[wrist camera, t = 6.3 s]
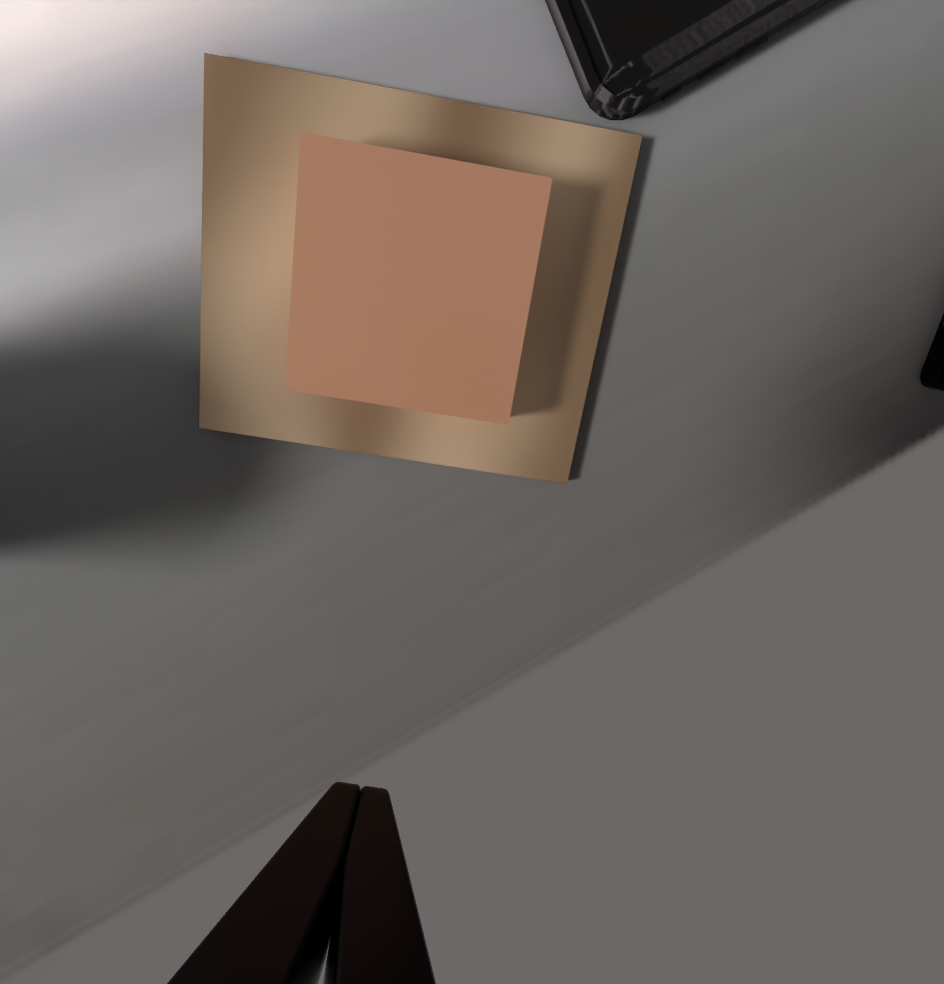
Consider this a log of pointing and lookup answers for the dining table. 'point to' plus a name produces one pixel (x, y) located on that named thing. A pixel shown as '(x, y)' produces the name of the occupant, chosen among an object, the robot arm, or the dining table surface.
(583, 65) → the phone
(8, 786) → the dining table surface
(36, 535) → the dining table surface
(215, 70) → the cork mat
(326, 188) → the terracotta tile
